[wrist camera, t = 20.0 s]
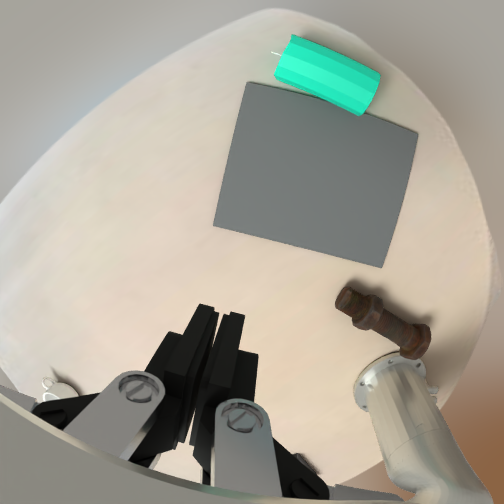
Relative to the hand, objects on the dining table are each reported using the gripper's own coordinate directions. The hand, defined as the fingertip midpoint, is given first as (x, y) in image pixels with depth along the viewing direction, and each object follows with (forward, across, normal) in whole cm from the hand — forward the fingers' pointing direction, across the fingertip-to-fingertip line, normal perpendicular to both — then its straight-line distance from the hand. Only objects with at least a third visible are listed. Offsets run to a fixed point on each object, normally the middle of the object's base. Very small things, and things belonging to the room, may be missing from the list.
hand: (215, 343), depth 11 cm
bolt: (+28, -20, +9) cm, 35 cm away
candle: (+24, -9, -18) cm, 31 cm away
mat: (+27, -6, -7) cm, 29 cm away
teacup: (+27, +30, +42) cm, 58 cm away
